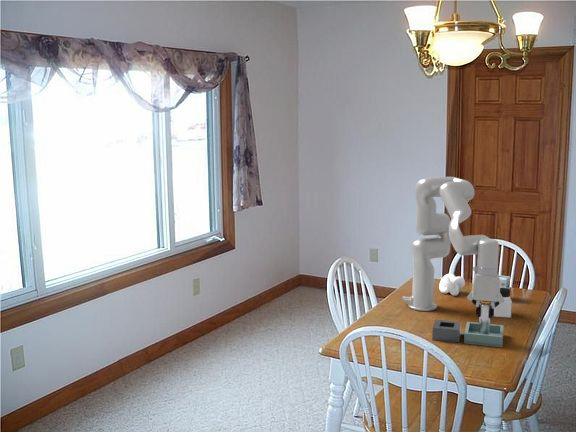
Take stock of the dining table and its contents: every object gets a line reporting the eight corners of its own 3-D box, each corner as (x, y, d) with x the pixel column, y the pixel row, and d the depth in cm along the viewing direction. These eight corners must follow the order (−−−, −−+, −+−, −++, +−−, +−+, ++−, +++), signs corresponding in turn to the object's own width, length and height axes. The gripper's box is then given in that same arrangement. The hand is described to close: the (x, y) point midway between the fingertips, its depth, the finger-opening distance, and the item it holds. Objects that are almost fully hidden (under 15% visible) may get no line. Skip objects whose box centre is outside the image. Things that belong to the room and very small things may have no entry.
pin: (477, 335, 255) (479, 301, 252) (478, 331, 259) (479, 297, 256) (489, 337, 253) (491, 302, 251) (490, 333, 257) (492, 298, 255)
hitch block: (432, 339, 256) (432, 327, 255) (435, 331, 265) (435, 319, 264) (458, 342, 253) (459, 330, 252) (460, 333, 262) (461, 321, 261)
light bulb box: (509, 298, 308) (510, 276, 306) (505, 302, 303) (506, 279, 301) (486, 294, 314) (487, 273, 312) (482, 298, 308) (483, 276, 307)
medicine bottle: (511, 317, 281) (512, 290, 279) (493, 316, 282) (495, 289, 280) (509, 312, 288) (510, 286, 286) (492, 311, 289) (493, 285, 287)
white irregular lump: (459, 289, 323) (459, 271, 322) (468, 296, 312) (469, 278, 310) (436, 290, 322) (437, 272, 320) (446, 297, 310) (446, 279, 308)
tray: (464, 343, 252) (464, 333, 251) (466, 331, 265) (467, 321, 264) (502, 347, 247) (502, 337, 247) (503, 334, 261) (503, 325, 260)
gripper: (463, 271, 251) (461, 317, 254) (510, 275, 245) (507, 322, 249) (465, 267, 258) (463, 311, 261) (510, 270, 252) (507, 316, 256)
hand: (484, 316), depth 255 cm, fingers closed on pin, 3 cm apart
